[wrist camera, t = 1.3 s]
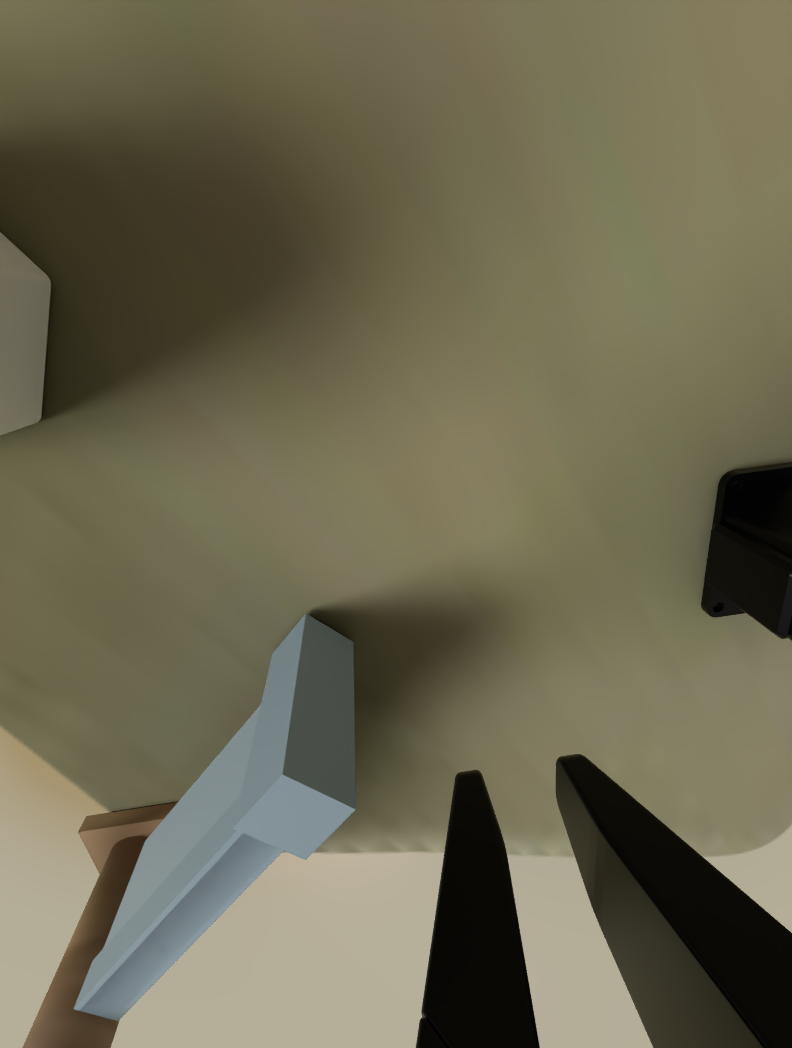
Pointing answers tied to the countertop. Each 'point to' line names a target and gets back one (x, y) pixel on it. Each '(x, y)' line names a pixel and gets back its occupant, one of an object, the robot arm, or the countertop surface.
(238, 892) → the gate
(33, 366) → the jar
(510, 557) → the countertop surface
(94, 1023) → the hinge post
